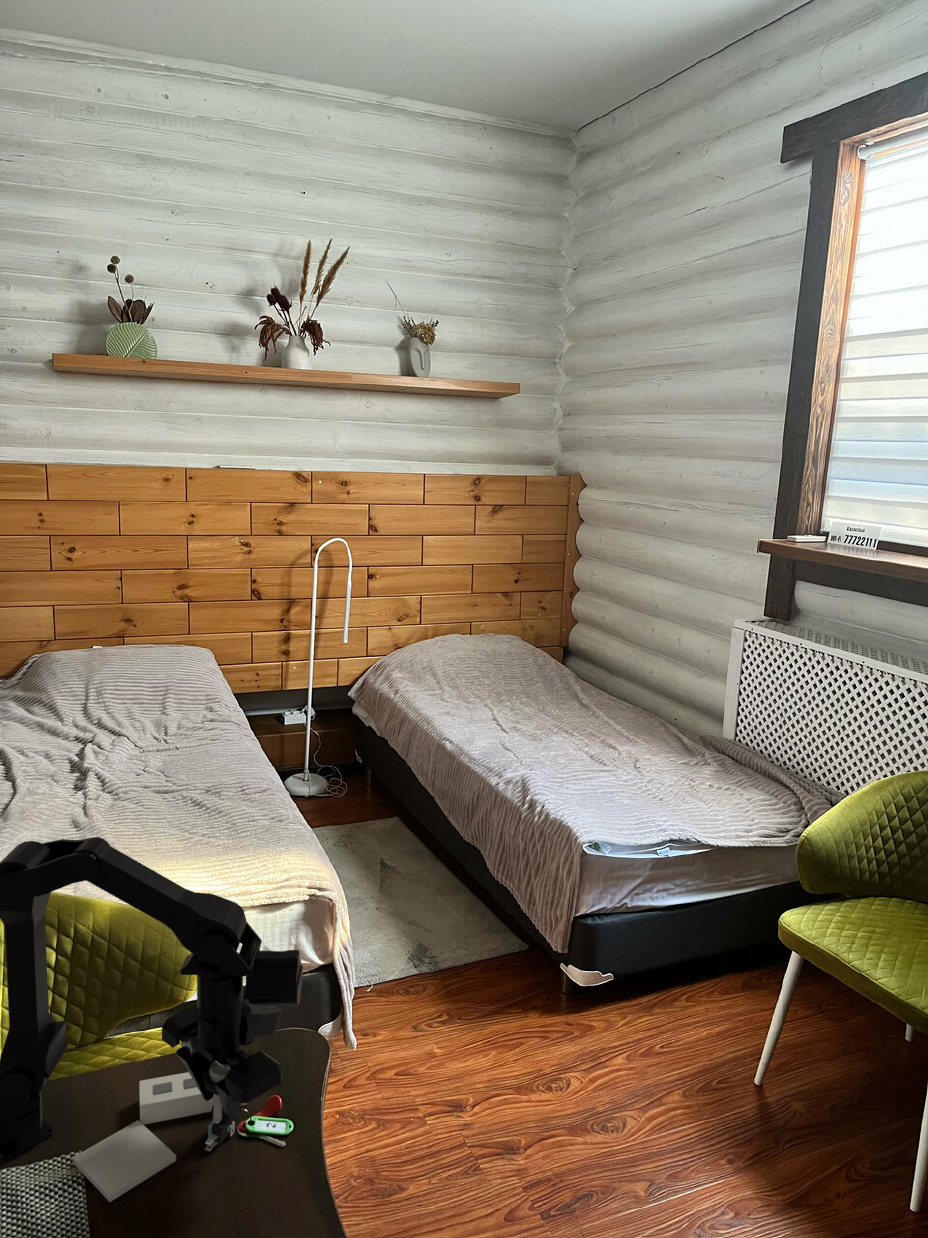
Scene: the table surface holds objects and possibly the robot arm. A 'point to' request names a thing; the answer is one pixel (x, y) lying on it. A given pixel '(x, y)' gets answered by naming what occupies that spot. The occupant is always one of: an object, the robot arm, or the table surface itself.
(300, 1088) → the table surface
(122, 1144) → the rubber mat
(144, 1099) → the power strip
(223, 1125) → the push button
